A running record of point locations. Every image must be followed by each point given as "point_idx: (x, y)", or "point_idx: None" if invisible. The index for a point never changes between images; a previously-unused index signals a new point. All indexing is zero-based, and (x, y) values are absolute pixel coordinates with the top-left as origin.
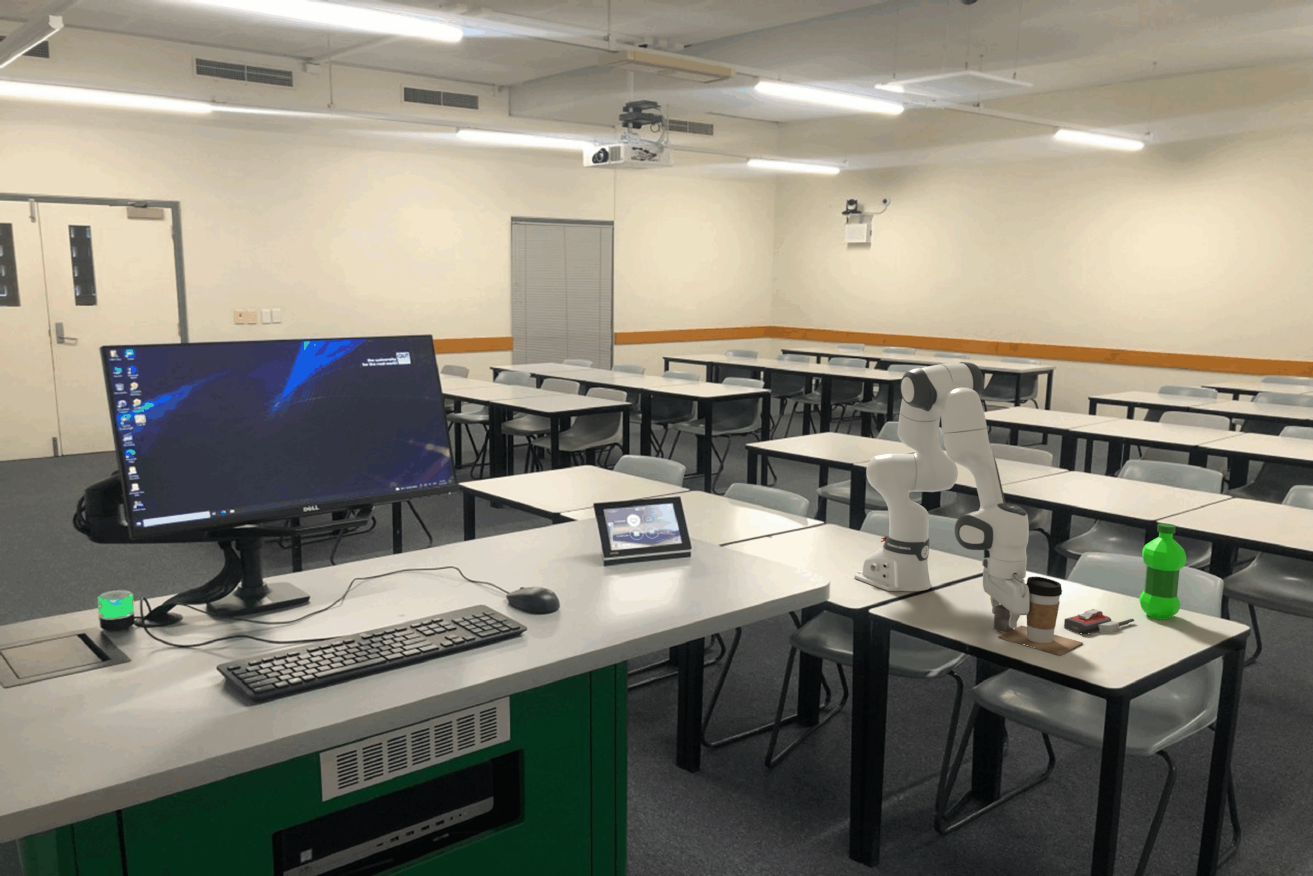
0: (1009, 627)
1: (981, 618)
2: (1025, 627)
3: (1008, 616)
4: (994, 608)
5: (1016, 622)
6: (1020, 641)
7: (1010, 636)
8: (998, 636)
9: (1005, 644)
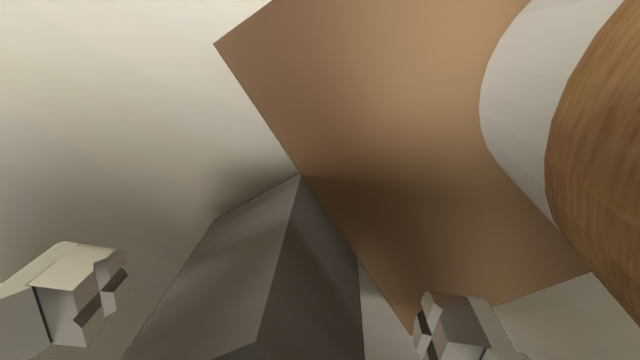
0: (334, 240)
1: (39, 243)
2: (275, 38)
3: (353, 355)
4: (76, 344)
5: (507, 341)
6: (554, 263)
7: (442, 274)
8: None
9: (520, 339)
